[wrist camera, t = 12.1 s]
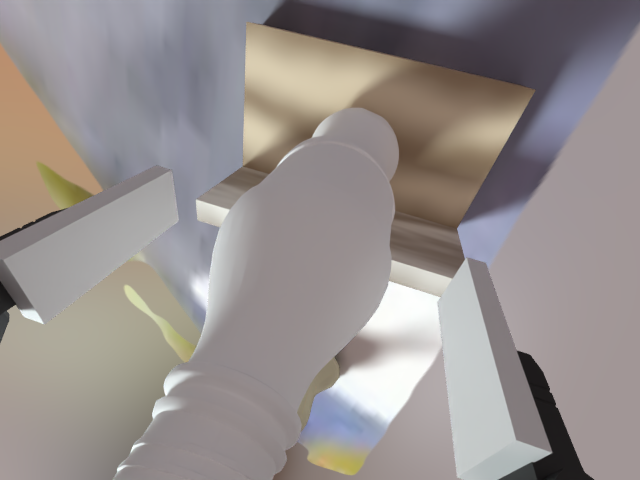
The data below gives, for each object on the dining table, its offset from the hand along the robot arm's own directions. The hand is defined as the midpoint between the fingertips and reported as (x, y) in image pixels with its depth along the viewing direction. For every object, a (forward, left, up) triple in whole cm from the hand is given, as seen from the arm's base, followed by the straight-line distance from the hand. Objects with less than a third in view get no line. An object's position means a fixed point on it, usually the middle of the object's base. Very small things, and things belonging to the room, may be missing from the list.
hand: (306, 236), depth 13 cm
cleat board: (-1, 0, -18) cm, 19 cm away
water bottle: (0, 0, -16) cm, 16 cm away
